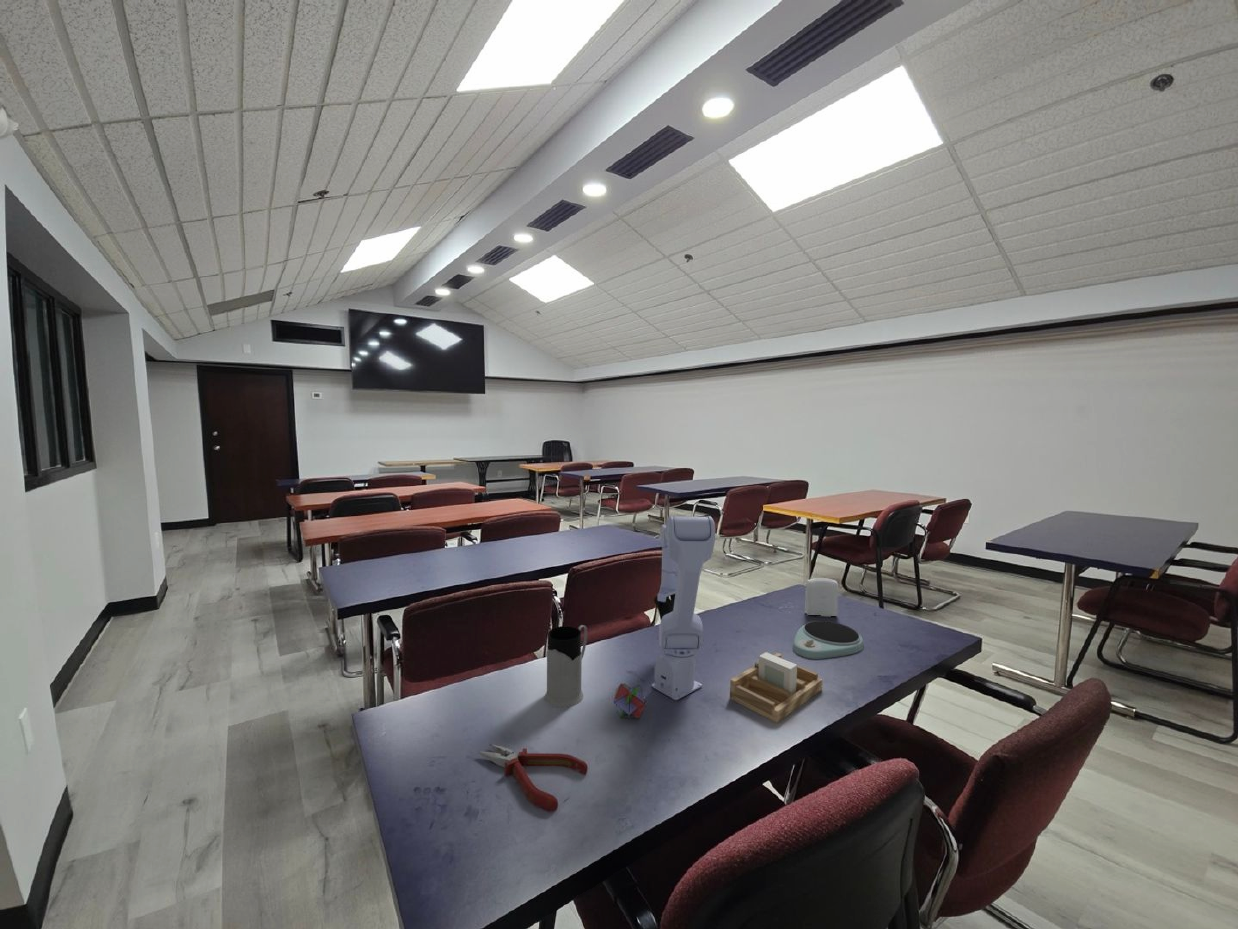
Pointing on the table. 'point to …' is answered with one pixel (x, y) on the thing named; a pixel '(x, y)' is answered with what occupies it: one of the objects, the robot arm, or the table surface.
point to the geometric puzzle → (629, 700)
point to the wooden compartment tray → (773, 692)
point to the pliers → (516, 762)
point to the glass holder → (564, 666)
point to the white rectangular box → (778, 672)
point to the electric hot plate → (826, 640)
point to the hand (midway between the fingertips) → (671, 619)
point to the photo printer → (821, 597)
